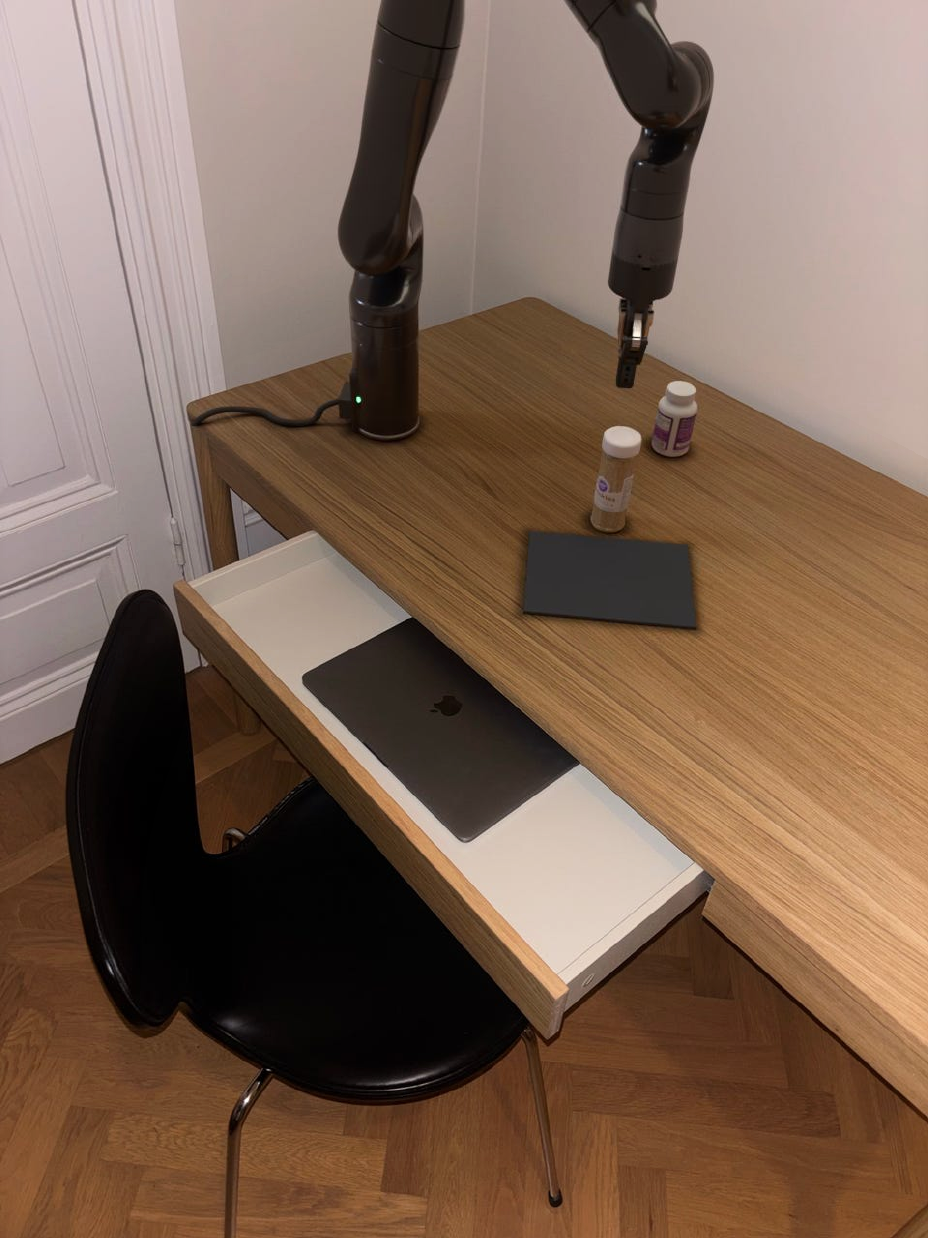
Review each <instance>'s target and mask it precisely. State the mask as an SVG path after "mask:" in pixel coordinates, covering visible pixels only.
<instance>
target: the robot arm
mask: <svg viewBox="0 0 928 1238" xmlns="http://www.w3.org/2000/svg"><path fill="white" fill-rule="evenodd" d="M563 2H564V3H565V4H566V6H567V8H568V9H569V10H570V12H571V13H572V15H573V16H574V18H575V19H576V20H577V22H578V23H579V25H580V26H581V27H582V29H583V30H584V32H585V34H587V36H588V37H589V38H590V40H591V41H592V42H593V44H594V45H595V46H596V48H597V49H598V51H599V54H600V56H601V59H602V62H603V65H604V67H605V70H606V72H607V74H608V76H609V78H610V81H611V82H612V86H613V87H614V89H615V91H616V93H617V96H618V97H619V100H620V101H621V103H622V105H623V107H624V108H625V110H626V112H627V113H628V114H629V115H630V117H632V119H633V120H634V121H635V122H636V123H637V124H638V125H640V126H641V128H640V132H639V137H638V141H637V143H636V145H635V146H634V149H633V150H632V152H631V153H630V155H629V157H628V159H627V162H626V164H625V165H626V166H625V170H624V175H623V176H624V177H623V183H622V191H621V198H620V205H619V209H618V214H617V217H616V221H615V226H614V233H613V238H612V239H613V240H612V248H611V254H610V261H609V269H608V275H607V276H608V278H607V286H608V289H610V291H611V292H612V293H614V295H616V296H618V297H620V298H619V300H618V307H617V308H618V309H617V310H618V321H617V322H618V323H617V329H616V331H617V344H618V347H617V352H618V354H617V359H618V361H617V366H616V367H617V368H616V374H615V386H616V387H617V388H619V389H633V388H634V385H635V380H636V372H637V367H638V366H641V363H642V362H643V358H644V355H645V352H646V350H647V346H648V345H649V340H648V338H649V333H650V328H651V327H652V325H653V323H654V316H655V310H654V309H653V307H654V302H656V301H660V300H663V299H664V298H667V297H668V296H669V295H670V294H671V293H672V291H673V290H674V289H673V288H674V284H675V283H674V282H675V278H676V272H677V266H678V262H679V261H678V260H679V255H680V250H681V245H682V239H683V233H684V219H685V218H684V216H685V212H686V211H685V210H686V205H687V199H688V194H689V188H690V181H691V173H692V168H693V163H694V159H695V157H696V154H697V150H698V148H699V145H700V141H701V138H702V135H703V131H704V128H705V125H706V122H707V120H708V119H707V118H708V115H709V111H710V108H711V104H712V100H713V94H714V88H715V72H714V71H715V70H714V66H713V63H712V60H711V58H710V56H709V54H708V53H707V51H706V50H705V49H704V48H703V46H701V45H699V44H697V43H696V42H693V41H687V40H682V41H676V42H675V41H674V42H673V43H671V42H670V41H669V39H668V38H667V35H666V34H665V32H664V30H663V29H662V26H661V24H660V23H659V21H658V19H657V17H656V13H657V10H658V0H563ZM465 20H466V0H380V3H379V8H378V13H377V19H376V24H375V30H374V36H373V41H372V47H371V53H370V54H371V55H370V60H369V67H368V74H367V80H366V86H365V87H366V88H365V95H364V101H363V109H362V115H361V116H362V117H361V123H360V135H359V141H358V147H357V153H356V158H355V162H354V166H353V169H352V174H351V177H350V181H349V184H348V187H347V191H346V194H345V198H344V201H343V205H342V208H341V212H340V215H339V218H338V223H337V242H338V245H339V250H340V251H341V254H342V256H343V258H344V259H345V262H346V263H347V264H348V265H349V266H350V267H351V268H352V269H353V277H352V280H351V284H350V288H349V292H348V311H349V312H348V313H349V329H350V330H349V331H350V346H351V348H350V349H351V350H350V351H351V365H350V369H349V372H348V381H344V384H343V386H342V389H341V392H340V394H339V396H338V397H337V398H334V399H331V400H328V401H326V402H324V403H322V404H321V405H320V406H319V407H318V408H317V409H316V410H315V413H314V415H313V416H312V417H310V418H307V419H301V420H299V419H289V418H284V417H280V416H277V415H275V414H273V413H271V412H270V411H268V410H267V409H264V408H260V407H253V406H237V405H236V406H235V405H234V406H233V405H230V406H229V405H228V406H220V407H214V408H212V409H208V410H207V411H204V412H203V413H201V414H200V415H198V416H197V417H196V418H195V419H194V420H192V422H191V424H190V426H192V427H196V426H199V425H200V424H201V423H202V422H203V421H205V420H206V419H209V418H210V417H214V416H215V415H219V414H225V413H243V414H256V415H261V416H263V417H265V418H267V419H268V420H270V421H271V422H274V423H276V424H280V425H286V426H292V427H293V426H294V427H306V426H310V425H313V424H315V423H317V422H318V421H319V420H320V419H321V417H322V415H323V413H324V412H325V411H326V410H328V409H330V408H332V407H335V406H338V414H339V415H338V417H339V419H341V420H343V419H344V420H351V430H352V432H353V433H358V434H361V435H362V436H363V437H366V438H368V439H371V440H377V441H384V442H385V441H388V442H389V441H390V442H391V441H396V440H402V439H405V438H408V437H410V436H411V435H413V434H414V433H416V432H417V430H418V429H419V427H420V409H419V407H420V405H419V403H420V402H419V401H420V399H419V398H420V397H419V393H420V392H419V391H420V390H419V389H420V388H419V387H420V386H419V385H420V383H419V378H420V377H419V376H420V375H419V374H420V373H419V372H420V371H419V369H420V367H419V366H420V365H419V363H420V362H419V361H420V359H419V357H420V356H419V355H420V351H419V350H420V349H419V348H420V347H419V345H420V344H419V339H420V335H419V325H420V324H419V317H420V316H419V304H420V303H419V302H420V296H421V291H422V286H423V280H424V279H423V277H424V250H425V249H424V247H425V245H424V244H425V243H424V242H425V225H424V217H423V216H424V215H423V211H422V208H421V205H420V202H419V200H418V198H417V196H416V195H415V194H414V191H415V185H416V181H417V177H418V174H419V170H420V167H421V164H422V160H423V158H424V156H425V153H426V152H427V151H426V150H427V148H428V147H429V144H430V141H431V139H432V136H433V135H434V132H435V130H436V127H437V124H438V122H439V119H440V118H441V117H440V116H441V114H442V111H443V109H444V107H445V104H446V101H447V98H448V94H449V92H450V88H451V86H452V81H453V78H454V75H455V70H456V67H457V62H458V57H459V54H460V48H461V44H462V39H463V35H464V29H465V22H466V21H465Z"/></svg>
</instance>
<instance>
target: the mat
mask: <svg viewBox="0 0 928 1238" xmlns="http://www.w3.org/2000/svg"><path fill="white" fill-rule="evenodd" d="M527 546H528V548H527V557H526V558H527V559H526V571H525V583H524V596H523V607H522V614H526V615H537V616H538V615H539V616H547V617H559V618H570V619H581V620H590V621H601V622H602V621H604V622H611V623H621V624H633V625H644V626H655V627H667V628H676V629H688V630H697V617H696V609H695V601H694V591H693V582H692V581H693V580H692V571H691V564H690V563H691V562H690V554H689V546H688V544H683V543H669V542H659V541H648V540H635V539H626V538H625V539H624V538H614V537H602V536H591V535H581V534H580V535H579V534H571V533H570V534H568V533H557V532H547V531H546V532H545V531H536V530H535V531H534V530H529V535H528V545H527Z"/></svg>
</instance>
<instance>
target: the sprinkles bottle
mask: <svg viewBox="0 0 928 1238" xmlns="http://www.w3.org/2000/svg"><path fill="white" fill-rule="evenodd" d="M641 445H642V436H641V434H640V432H638V431H637V430H636V429H634V428H632V427H629V426H623V425H617V426H616V425H615V426H612V427H609V428H607V429H606V430H605V431H604V434H603V438H602V444H601V447H602V449H601V450H602V453H601V458H600V464H599V471H598V476H597V480H596V484H595V491H594V496H593V505H592V506H593V507H592V512H591V515H590V523H591V525H592V527H594V528H595V529H596V530H597V531H600V532H602V533H616V532H619V531H621V530H622V529H623V528H624V527H625V525H626V516H627V511H628V506H629V503H630V497H631V492H632V487H633V481H634V478H635V477H634V476H635V469H636V463H637V458H638V456H639V453H640V451H641Z"/></svg>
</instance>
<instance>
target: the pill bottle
mask: <svg viewBox="0 0 928 1238" xmlns="http://www.w3.org/2000/svg"><path fill="white" fill-rule="evenodd" d="M696 394H697V388H696V386H695V385H693V384H692V383H691V382H687V381H684V380H675V381H671V382H669V383H668V384H667V386H666V390H665V395H664V396H663V397H662V398H660V400H659V403H658V405H657V412H656V417H655V422H654V428H653V432H652V438H651V447H652V448H653V450H654V451H655V452H656V453H658V454H659V455H662V456H665V457H669V458H675V457H681V456H683V455H685V454H687V453H688V451H689V449H690V445H691V441H692V436H693V433H694V428H695V423H696V419H697V414H698V404H697V402H696V400H695V399H696Z"/></svg>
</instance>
